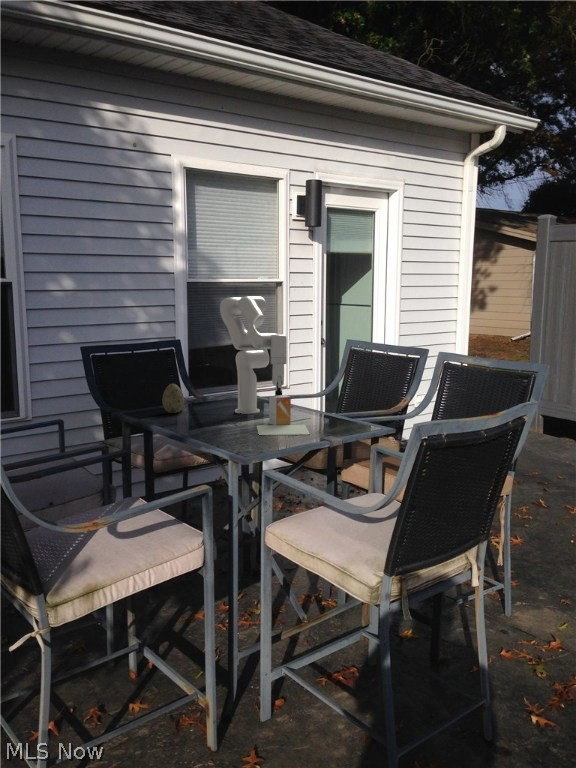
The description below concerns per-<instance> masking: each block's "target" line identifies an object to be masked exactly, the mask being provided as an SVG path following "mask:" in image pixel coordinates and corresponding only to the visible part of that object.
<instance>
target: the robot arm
mask: <svg viewBox="0 0 576 768" xmlns="http://www.w3.org/2000/svg"><path fill="white" fill-rule="evenodd" d="M219 305H220V306H219V311H220V316H221V318H222V320H223V322H224V324H225V326H226V327H227V330H228V335H229V337H230V340H231V342H232V344H233V347H234V348H235V350H239V351H238V352H237V353H236V355H235V364H236V371H237V408H236V409H234V412H235V414H240V413H241V414H242V415H251V414H254V415H255V414H258V413H260V412H261V410H260V409H259V408H257V407H258V394H257V393H258V391H257V390H258V389H257V387H258V383H257V382H258V379H257V375H256V373H255V371H254V370H253V369H261V368H266V367H267V366H268V365H272V369H271V370H272V374H271V377H272V378H271V380H272V381H271V383H272V385H273V386H275V391H274V396H277V395H283V385H285V383H284V382H285V365H287V363H288V362H287V361H288V360H287V357H288V355H287V352H288V351H287V348H288V347H287V343H288V340H287V335H286V334H281V333H280V334H279V333H276V332H275V333H274V332H270V333H269V332H264V333H263V332H262V333H260V332H259V331H258V330H257V329H258V328H259V327H260V326H262V325H263V323H264V322H265V315H264V312H265V311H266V310H267V302H266V300H265V298H264V297H262V296H259V295H258V296H256V295H254V296H253V295H252V296H251V295H250V296H248V295H247V296H242V297H241V296H233V297H231V296H230V297H226V298H224V299H221V302H220V304H219ZM241 314H242V315H243V317H244V319H245V320H246V322H247V324H248V325H247V327H245V324H244V322H243V320H241V318H240V317H238V316H237V315H241ZM268 350H270V354H269V351H268ZM241 414H240V415H241Z"/></svg>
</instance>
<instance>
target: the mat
mask: <svg viewBox="0 0 576 768" xmlns="http://www.w3.org/2000/svg"><path fill="white" fill-rule="evenodd" d="M256 431H257V434H259V435H271V436H310V435H311V433H310V431H309V430H308V428H307V426H306V424H286V425H272V424H269V425H267V424H265V425H256ZM309 434H310V435H309ZM259 435H258V436H259Z"/></svg>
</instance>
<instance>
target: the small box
mask: <svg viewBox="0 0 576 768" xmlns="http://www.w3.org/2000/svg"><path fill="white" fill-rule="evenodd" d="M291 398H292V397H291V396H289V395H286V394H282V395H277V396H275V395H269V398H268V399H269V400H268V402H269V403H268V405H269V406H268V418H269V421H268V424H269V425H291V416H292V415H291V414H292V413H291V409H292V407H291V406H292V403H291V402H292V399H291Z"/></svg>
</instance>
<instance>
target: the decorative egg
mask: <svg viewBox="0 0 576 768" xmlns="http://www.w3.org/2000/svg"><path fill="white" fill-rule="evenodd" d="M161 400H162V401H161V402H162V405H163V408H164V410H165V411H166V412H167V413H170V414H172V413H175V414H177V412H178V413H179V412H181V411H182V409H183V408H184V404H185V396H184V393H183V391H182V389H181V387H179V386H178V385H177V384H176V383H169V384H168V385H167V386H166V388H165V390H164V391H163V394H162V399H161Z"/></svg>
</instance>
